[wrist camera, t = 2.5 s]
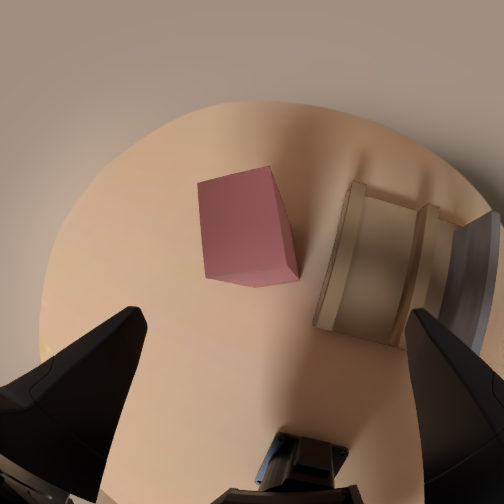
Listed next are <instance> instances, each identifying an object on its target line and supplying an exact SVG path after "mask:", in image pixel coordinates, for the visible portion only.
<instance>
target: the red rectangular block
mask: <svg viewBox="0 0 504 504" xmlns="http://www.w3.org/2000/svg"><path fill="white" fill-rule="evenodd" d="M197 185H198V200H199V213H200V225H201V236H202V247H203V257H204V267H205V276H206V278H209V279H214V280H219V281H224V282H229V283H234V284H239V285H244V286H249V287H254V288H255V287H262V286H269V285H275V284H281V283H287V282H294V281H300V280H299V274H298V268H297V261H296V255H295V249H294V243H293V237H292V232H291V226H290V222H289V219H288V216H287V213H286V210H285V207H284V204H283V202H282V199H281V196H280V193H279V190H278V187H277V185H276V182H275V179H274V176H273V173H272V171H271V168H270V166H267V167H262V168H257V169H253V170H248V171H244V172H240V173H235V174H231V175H227V176H223V177H219V178H215V179H211V180H207V181H203V182H200V183H197Z"/></svg>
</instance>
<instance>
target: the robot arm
mask: <svg viewBox="0 0 504 504" xmlns="http://www.w3.org/2000/svg"><path fill="white" fill-rule="evenodd" d="M147 328H148V327H147V322H146V320H145V318H144V316H143V313H142V311H141V309H140V308H139V307H135V306H128V307H126V308H125V309H123V310H122V311H120V312H119V313H117V314H116V315H114V316H113V317H111V318H110V319H108V320H107V321H105V322H103V323H102V324H100V325H99V326H97V327H96V328H94V329H93V330H91V331H90V332H88V333H87V334H85V335H84V336H82V337H81V338H79V339H78V340H76V341H75V342H73V343H72V344H70V345H69V346H68V347H66V348H65V349H63V350H62V351H60V352H59V353H57V354H56V355H55V356H53V357H51V358H50V359H48V360H47V361H45V362H44V363H42V364H41V365H39V366H38V367H36V368H35V369H33V370H31V371H30V372H28V373H26V374H24V375H23V376H21V377H19V378H18V379H16V380H14V381H12V382H11V383H9V384H7V385H5V386H2V387H0V504H74V503H73V501H72V499H70V498H69V496H70V494H72V495H75V496H77V497H80V498H82V499H84V500H87V501H89V502H92V503H96V500H97V496H98V492H99V488H100V484H101V480H102V477H103V473H104V469H105V466H106V462H107V460H106V459H107V458H108V454H109V451H110V448H111V444H112V441H113V438H114V434H115V431H116V428H117V425H118V422H119V418H120V415H121V412H122V409H123V406H124V403H125V400H126V398H127V395H128V392H129V389H130V386H131V383H132V380H133V378H134V375H135V372H136V369H137V366H138V363H139V359H140V356H141V352H142V348H143V344H144V340H145V337H146V333H147ZM405 340H406V347H407V355H408V363H409V372H410V378H411V383H412V388H413V393H414V399H415V404H416V410H417V417H418V423H419V430H420V438H421V447H422V457H423V470H424V483H425V484H424V497H425V504H504V380H503V379H502V378H501V377H500V376H499V375H498V374H497V373H496V372H495V371H493V370H492V369H491V368H490V367H489V366H488V365H487V364H486V363H485V362H484V361H483V360H482V359H481V358H480V357H479V356H478V355H477V354H476V353H475V352H473V351H472V350H471V349H470V348H469V347H468V346H467V345H466V344H465V343H464V342H463V341H461V340H460V339H459V338H458V337H457V336H456V335H455V334H454V333H452V332H451V331H450V330H449V329H448V328H447V327H446V326H444V325H443V324H442V323H441V322H440V321H439V320H437V319H436V318H435V317H434V316H433V315H431V314H430V313H429V312H428V311H427V310H426V309H424V308H414V309H412V310H411V312H410V314H409V317H408V320H407V323H406V326H405ZM278 437H283V439H282V440H281V439H279V438H278ZM341 452H345V453H344V454H340V453H341ZM348 454H349V452H348V449H347V448H345V447H340V446H335V445H331V444H330V443H328V442H323V441H319V440H315V439H311V438H307V437H297V436H293V435H290V434H286V433H282V432H280V433H277V434H276V435H275V437H274V440H273V442H272V444H271V446H270V449H269V451H268V453H267V455H266V457H265V460H264V462H263V464H262V466H261V468H260V470H259V472H258V474H257V476H256V478H255V483H256V484H257V485H260V487H259V490H258V491H247V490H238V489H236V488H230V489H229V490H227V491H226V492H225V493H224V494H222V495H221V496H220V497H219V498H217V499H216V500H215V501H213V502H212V503H211V504H364V503H363V501H362V498H361V495H360V493H359V490H358V487H357V485H350V486H348V487H345V488H336V489H335V486H334V478H335V477H336V475H337V473H338V472H339V470H340V468H341V467H342V465H343V463H344V462H345V460H346V458H347V456H348ZM259 480H262V481H259Z"/></svg>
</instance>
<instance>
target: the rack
mask: <svg viewBox="0 0 504 504" xmlns="http://www.w3.org/2000/svg"><path fill="white" fill-rule="evenodd" d="M366 187H367V184H363V183H359V182H356V181H353V183H352V187H351V190H350V192H349V191H347V192H346V196H345V200H344V205H343V210H342V214H341V219H340V223H339V227H338V231H337V236H336V240H335V244H334V248H333V252H332V256H331V260H330V263H329V267H328V271H327V275H326V278H325V282H324V285H323V289H322V292H321V296H320V299H319V303H318V306H317V309H316V313H315V316H314V319H313V322H312V325H313V326H316V327H318V328H321V329H325V330H328V331H334V332H338V333H342V334H346V335H349V336H353V337H357V338H361V339H365V340H369V341H373V342H377V343H381V344H385V345H389V346H394V347H397V348H400V349H404V350H407V347H406V340H405V326H406V323H407V320H408V317H409V314H410V312H411V310H412V309H414V308H424V309H426V310H427V311H428V312H429V313H430V314H431V315H433V316H434V317H435V318H436V319H437V320H439V321H440V322H441V323H442V324H443V325H444V326H446V327H447V328H448V329H449V330H450V331H451V332H452V333H454V334H455V335H456V336H457V337H458V338H459V339H460V340H461V341H463V342H464V343H465V344H466V345H467V346H468V347H469V348H470V349H471V350H472V351H473V352H475V353H476V354H477V355H478V356H479V353H480V350H481V346H482V343H483V339H484V335H485V331H486V327H487V323H488V319H489V314H490V310H491V305H492V299H493V294H494V288H495V281H496V273H497V265H498V255H499V241H500V214H499V213H497V212H495V211H493V210H491V211H490V212H488V213H486V214H485V215H483V216H481V217H480V218H478V219H476V220H474V221H473V222H471V223H469V224H467V225H466V226H464V227H461V226H458V225H455V224H452V223H450V222H447V221H444V220H441V219H439V208H440V207H437V206H435V205H432V204H429V203H427V204H426V205H425V206H424V207H423V208H422V209H421V210H420V211H419V212H418V211H415V210H411V209H408V208H405V207H402V206H399V205H395V204H392V203H389V202H385V201H382V200H378V199H375V198H371V197H368V196H365V193H366Z"/></svg>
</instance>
